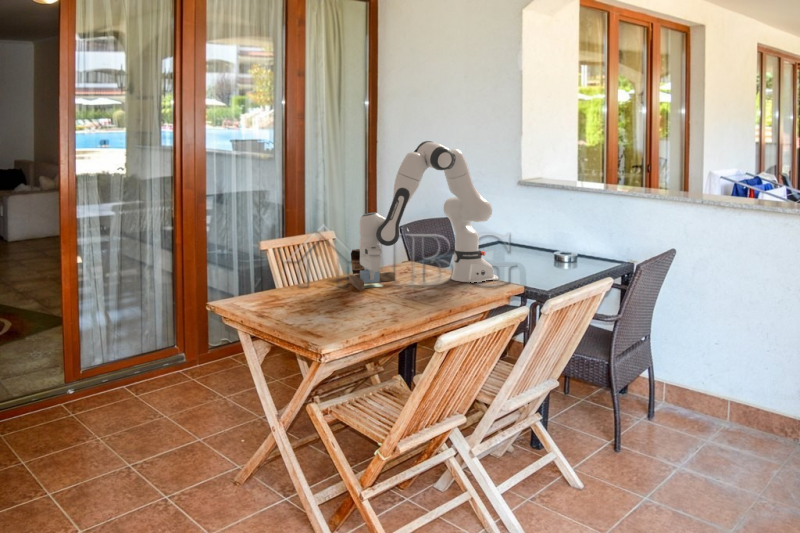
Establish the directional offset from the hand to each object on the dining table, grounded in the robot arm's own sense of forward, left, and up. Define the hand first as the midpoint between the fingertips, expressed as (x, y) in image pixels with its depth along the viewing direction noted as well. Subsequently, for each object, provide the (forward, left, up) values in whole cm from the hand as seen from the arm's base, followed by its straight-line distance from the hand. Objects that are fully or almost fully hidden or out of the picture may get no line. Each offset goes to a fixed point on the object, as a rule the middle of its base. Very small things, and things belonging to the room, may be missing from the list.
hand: (369, 278), depth 344 cm
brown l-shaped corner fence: (-4, -1, -4) cm, 5 cm away
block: (0, 0, -2) cm, 2 cm away
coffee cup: (-2, -23, -4) cm, 23 cm away
